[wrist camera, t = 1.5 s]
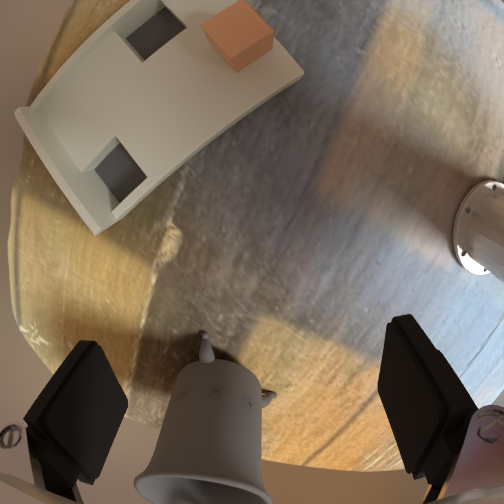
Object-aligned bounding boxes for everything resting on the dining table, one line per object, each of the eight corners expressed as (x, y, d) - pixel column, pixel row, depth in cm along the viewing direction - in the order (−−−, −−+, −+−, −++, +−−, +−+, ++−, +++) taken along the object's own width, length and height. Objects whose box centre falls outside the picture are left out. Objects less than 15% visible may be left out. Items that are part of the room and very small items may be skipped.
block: (245, 20, 21) (242, -2, 17) (272, 49, 22) (274, 31, 18) (210, 43, 22) (200, 25, 18) (236, 73, 23) (230, 58, 19)
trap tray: (202, -24, 21) (190, -54, 15) (300, 79, 26) (310, 63, 20) (48, 113, 27) (13, 113, 21) (123, 217, 32) (95, 235, 26)
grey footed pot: (151, 334, 37) (75, 502, 14) (264, 324, 36) (263, 531, 12) (191, 422, 44) (164, 555, 20) (281, 417, 42) (286, 562, 19)
